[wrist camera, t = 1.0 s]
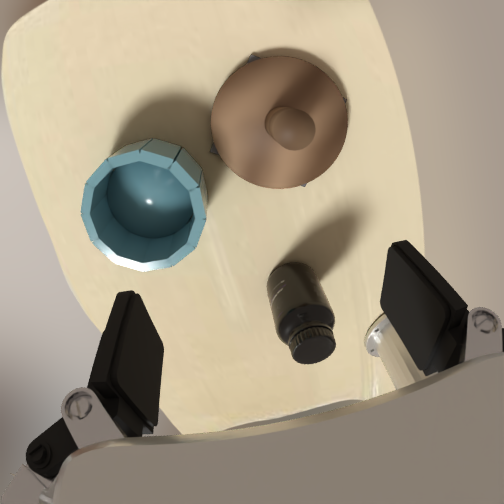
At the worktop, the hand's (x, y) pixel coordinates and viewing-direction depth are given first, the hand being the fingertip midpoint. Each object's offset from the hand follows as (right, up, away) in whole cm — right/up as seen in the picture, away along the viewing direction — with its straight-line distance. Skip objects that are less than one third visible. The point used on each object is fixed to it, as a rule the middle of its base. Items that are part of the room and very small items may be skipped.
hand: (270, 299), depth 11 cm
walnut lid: (+2, +15, +18) cm, 23 cm away
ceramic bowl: (-12, +8, +20) cm, 25 cm away
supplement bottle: (+5, -2, +29) cm, 29 cm away
